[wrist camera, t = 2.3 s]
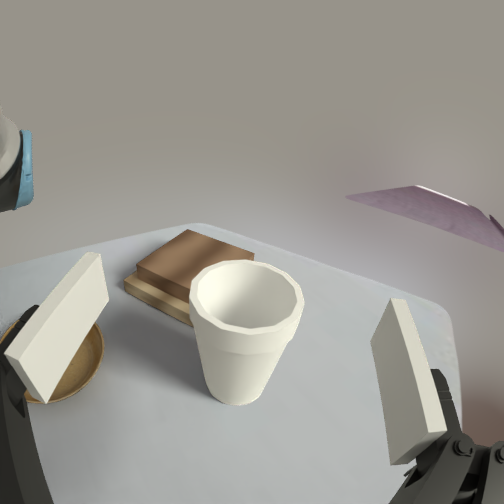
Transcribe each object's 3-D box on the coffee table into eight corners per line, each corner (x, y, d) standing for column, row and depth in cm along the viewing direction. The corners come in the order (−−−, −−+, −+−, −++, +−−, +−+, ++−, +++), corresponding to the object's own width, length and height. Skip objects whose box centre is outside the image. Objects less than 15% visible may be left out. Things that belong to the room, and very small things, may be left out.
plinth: (125, 291, 43) (121, 265, 41) (185, 246, 55) (185, 223, 52) (213, 336, 38) (214, 310, 36) (263, 276, 50) (267, 252, 48)
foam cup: (263, 345, 38) (281, 256, 31) (289, 407, 31) (323, 323, 24) (186, 355, 35) (183, 263, 28) (200, 424, 28) (198, 341, 21)
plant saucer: (3, 332, 32) (-4, 318, 31) (95, 310, 39) (91, 295, 38) (7, 425, 22) (-4, 413, 20) (123, 397, 29) (118, 384, 28)
